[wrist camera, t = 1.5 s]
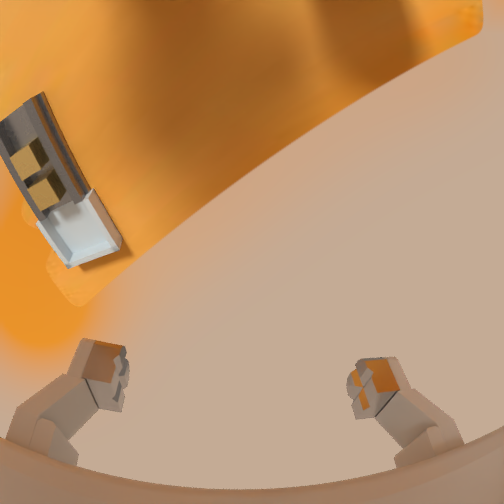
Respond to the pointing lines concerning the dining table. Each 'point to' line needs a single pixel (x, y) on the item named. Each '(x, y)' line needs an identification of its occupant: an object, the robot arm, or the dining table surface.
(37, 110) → the slot bed
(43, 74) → the dining table surface
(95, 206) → the tray
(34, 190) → the yellow cube
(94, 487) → the robot arm
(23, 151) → the tan yellow cube
